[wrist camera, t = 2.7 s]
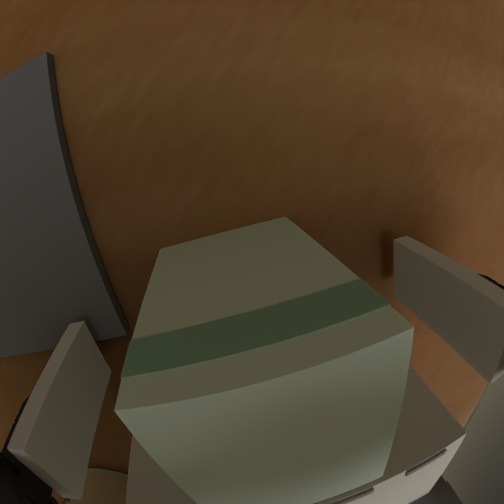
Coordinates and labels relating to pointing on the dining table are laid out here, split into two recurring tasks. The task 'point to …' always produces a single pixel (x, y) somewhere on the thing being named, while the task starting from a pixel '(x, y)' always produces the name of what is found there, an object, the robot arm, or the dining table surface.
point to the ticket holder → (368, 495)
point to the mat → (44, 225)
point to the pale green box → (264, 369)
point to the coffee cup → (103, 488)
